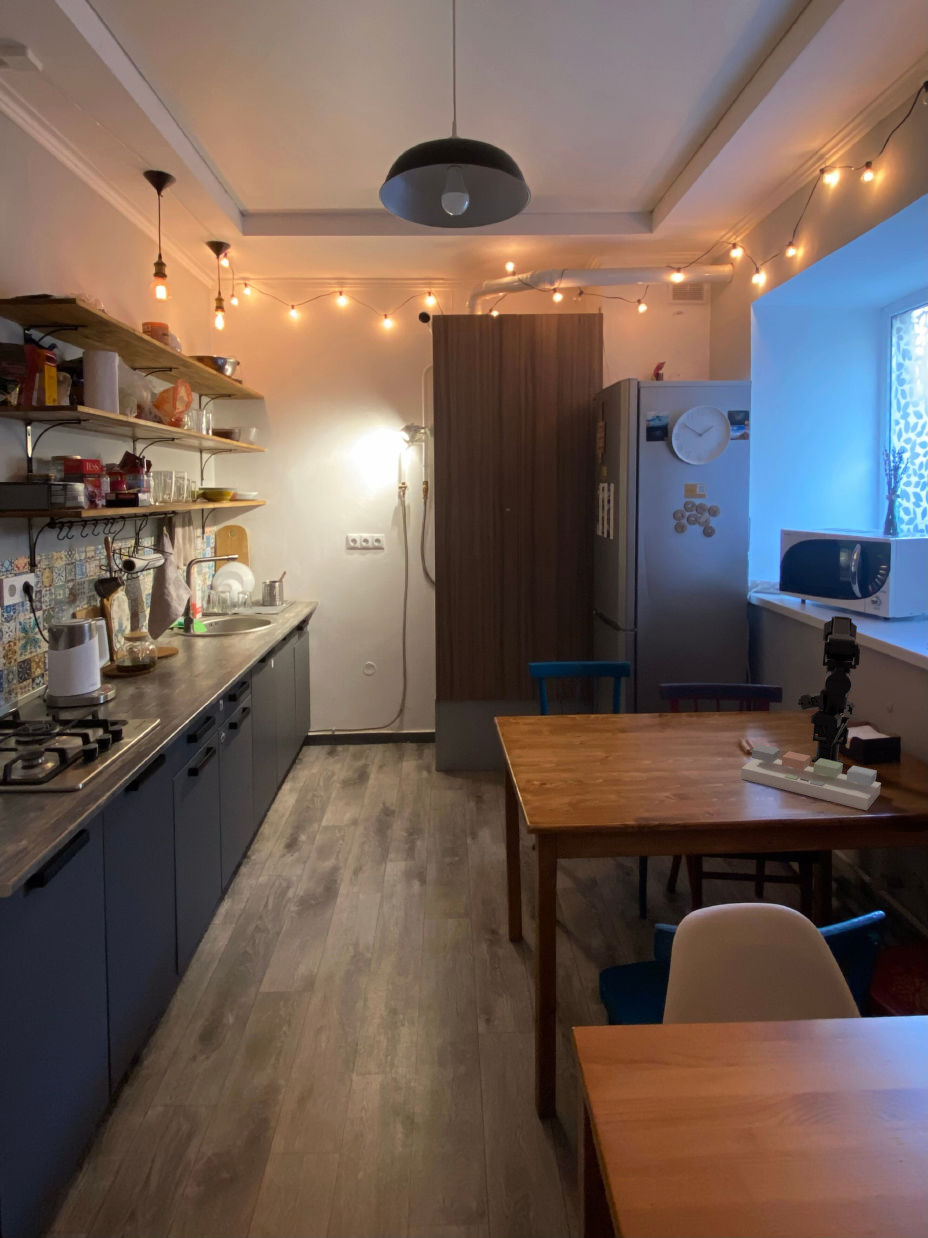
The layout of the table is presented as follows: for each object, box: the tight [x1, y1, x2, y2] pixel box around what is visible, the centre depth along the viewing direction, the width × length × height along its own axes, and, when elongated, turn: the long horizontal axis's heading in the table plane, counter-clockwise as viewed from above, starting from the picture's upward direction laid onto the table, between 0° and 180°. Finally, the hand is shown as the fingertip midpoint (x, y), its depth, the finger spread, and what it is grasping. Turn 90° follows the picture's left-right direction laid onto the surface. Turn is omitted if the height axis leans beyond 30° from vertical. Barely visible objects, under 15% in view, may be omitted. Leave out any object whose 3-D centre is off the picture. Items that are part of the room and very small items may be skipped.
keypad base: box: [740, 758, 882, 811], centre depth 204 cm, size 14×31×3 cm, turn 50°
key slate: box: [751, 744, 781, 763], centre depth 212 cm, size 6×6×2 cm
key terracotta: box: [781, 750, 812, 770], centre depth 206 cm, size 6×6×2 cm
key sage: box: [813, 758, 844, 778], centre depth 201 cm, size 6×6×2 cm
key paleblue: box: [846, 765, 878, 786], centre depth 196 cm, size 6×6×2 cm
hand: (830, 745), depth 200 cm, fingers closed
